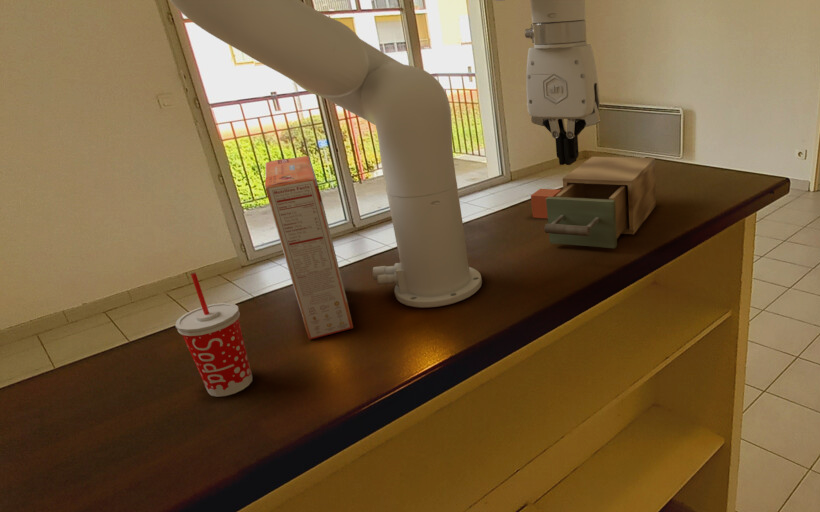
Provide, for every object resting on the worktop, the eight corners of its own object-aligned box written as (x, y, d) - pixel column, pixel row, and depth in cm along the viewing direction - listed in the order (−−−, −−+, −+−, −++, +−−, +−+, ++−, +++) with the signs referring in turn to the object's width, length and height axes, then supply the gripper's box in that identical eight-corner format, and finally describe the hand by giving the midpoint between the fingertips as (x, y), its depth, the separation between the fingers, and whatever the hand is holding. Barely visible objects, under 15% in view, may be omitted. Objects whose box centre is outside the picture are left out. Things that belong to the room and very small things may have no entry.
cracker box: (301, 300, 90) (263, 160, 82) (343, 290, 92) (311, 153, 84) (305, 342, 78) (261, 184, 70) (354, 330, 80) (317, 175, 72)
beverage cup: (187, 400, 68) (145, 286, 62) (224, 369, 73) (188, 262, 68) (237, 401, 67) (198, 286, 61) (270, 370, 72) (238, 261, 67)
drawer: (602, 263, 93) (599, 215, 90) (534, 257, 97) (529, 210, 94) (639, 218, 110) (637, 176, 107) (580, 215, 114) (577, 174, 111)
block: (554, 219, 116) (552, 196, 114) (532, 217, 117) (530, 195, 116) (563, 211, 120) (561, 189, 118) (542, 210, 121) (540, 188, 119)
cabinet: (633, 234, 105) (632, 180, 102) (566, 229, 110) (562, 178, 106) (655, 206, 119) (655, 158, 115) (594, 203, 123) (592, 156, 120)
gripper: (500, 39, 86) (513, 167, 93) (600, 35, 80) (606, 171, 87) (524, 36, 92) (534, 155, 99) (618, 31, 87) (622, 158, 94)
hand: (568, 162), depth 93 cm, fingers closed
